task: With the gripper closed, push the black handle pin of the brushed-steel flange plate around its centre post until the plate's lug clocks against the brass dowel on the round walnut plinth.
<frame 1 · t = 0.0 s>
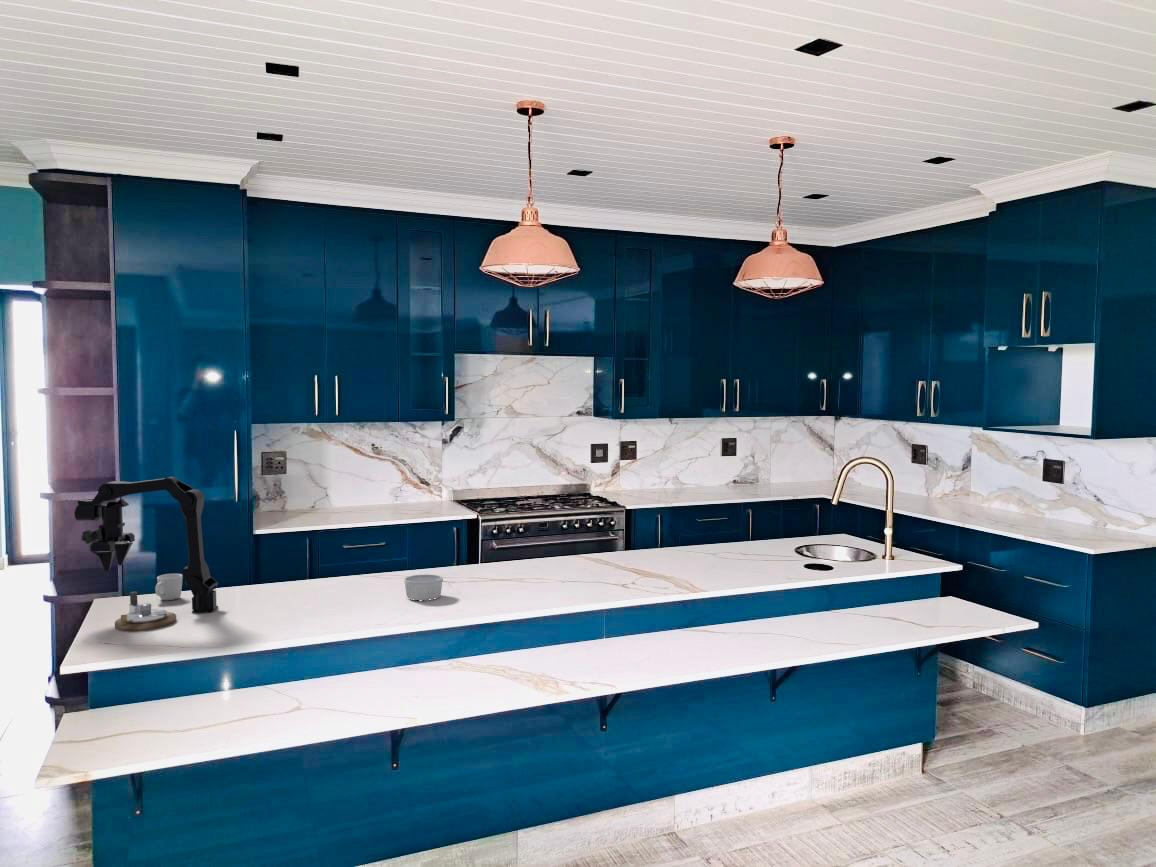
hand: (113, 568, 273), 15 cm above the countertop, fingers open, 9 cm apart
flange: (143, 606, 262), point 5 cm above the countertop, hinge at 0.0°
ramekin: (423, 598, 292), on the countertop
cup: (167, 600, 290), on the countertop
plinth: (146, 623, 261), on the countertop
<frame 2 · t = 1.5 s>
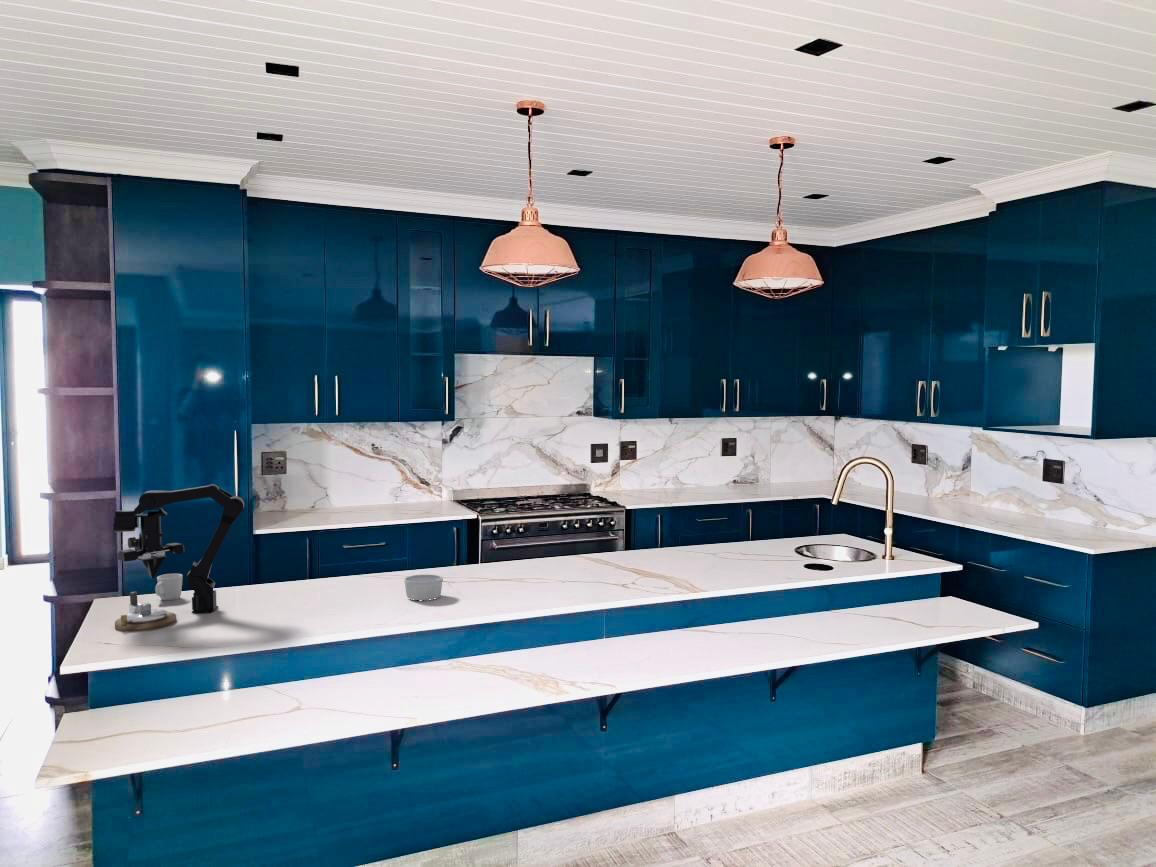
hand: (152, 578, 270), 12 cm above the countertop, fingers closed
nothing on the countertop moved.
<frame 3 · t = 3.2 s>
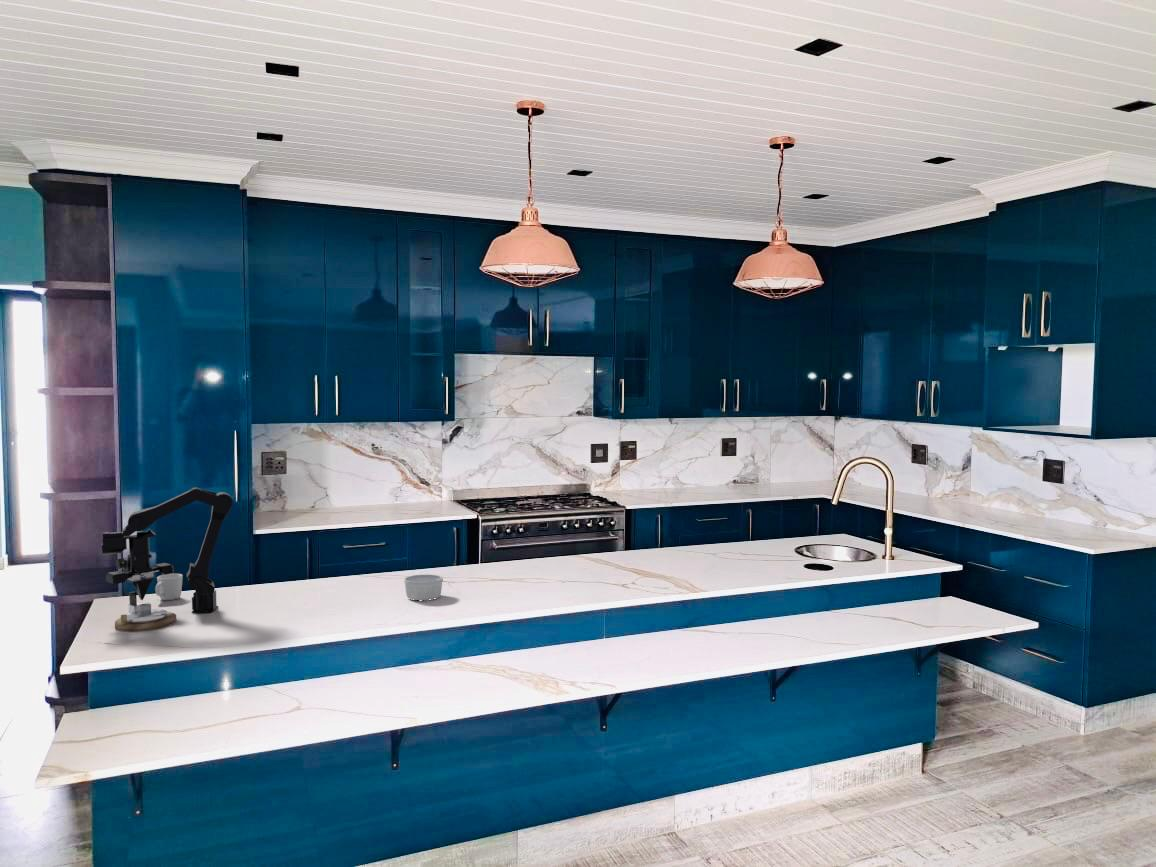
hand: (141, 599, 268), 6 cm above the countertop, fingers closed
flange: (142, 606, 262), point 5 cm above the countertop, hinge at 1.5°, touching gripper
everything else where it was.
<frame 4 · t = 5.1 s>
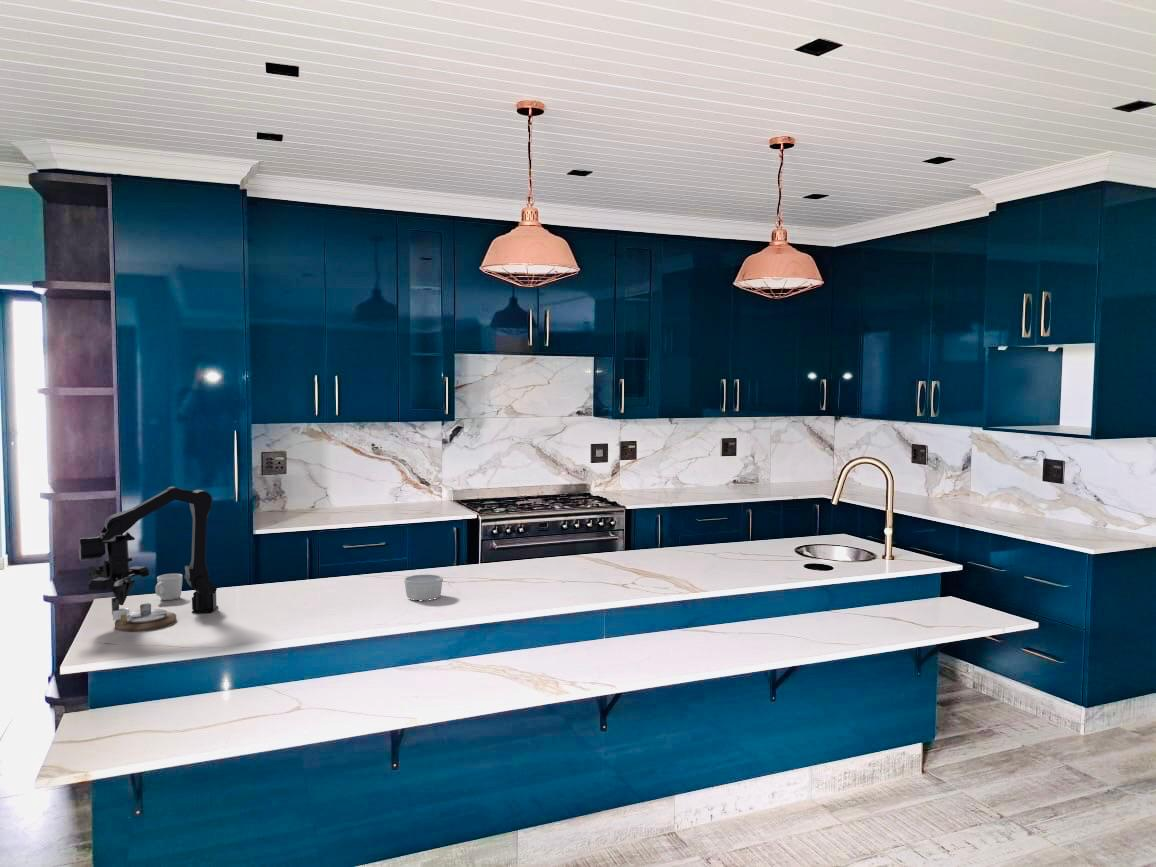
hand: (121, 605, 261), 6 cm above the countertop, fingers closed
flange: (139, 607, 260), point 5 cm above the countertop, hinge at 52.5°, touching gripper
everything else where it was.
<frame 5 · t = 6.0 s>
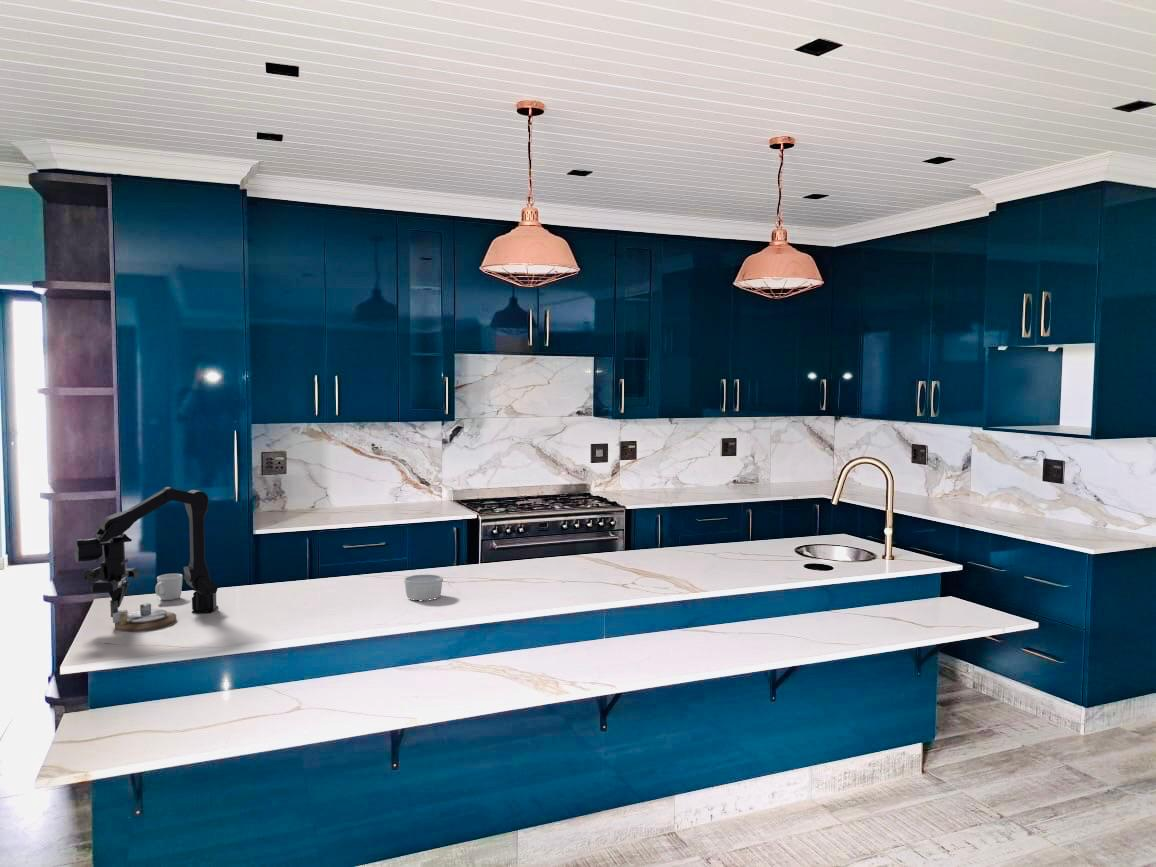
hand: (117, 607, 259), 6 cm above the countertop, fingers closed
flange: (139, 608, 260), point 5 cm above the countertop, hinge at 71.6°, touching gripper
everything else where it was.
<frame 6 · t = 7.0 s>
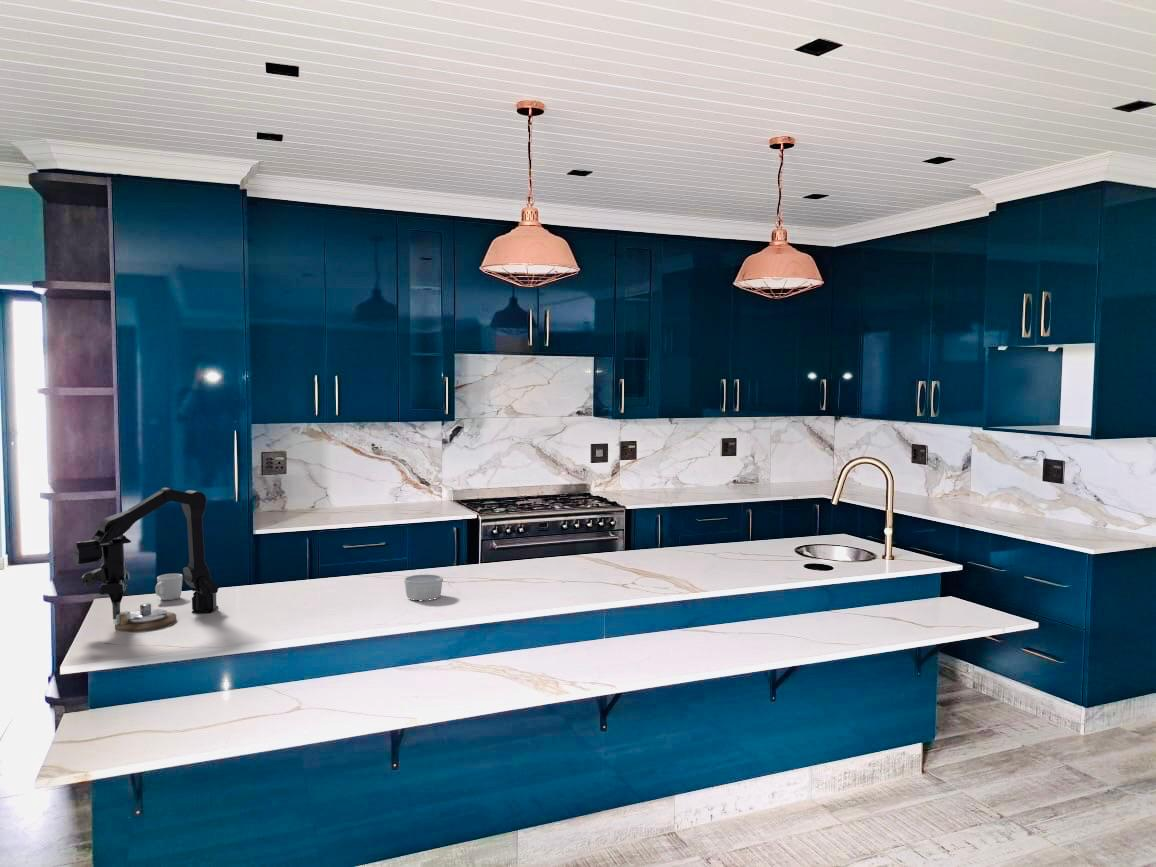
hand: (116, 609, 256), 6 cm above the countertop, fingers closed
flange: (139, 608, 259), point 5 cm above the countertop, hinge at 89.9°, touching gripper, plinth
everything else where it was.
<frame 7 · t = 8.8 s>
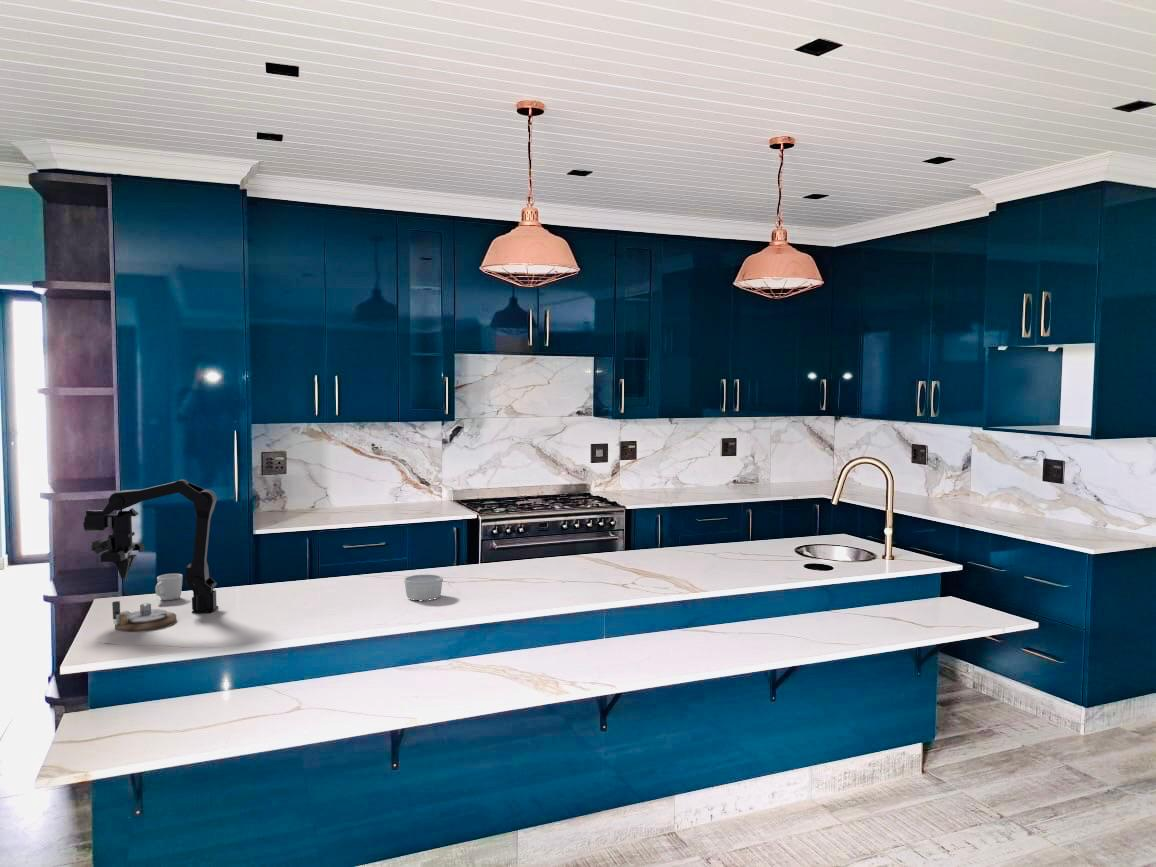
hand: (123, 578, 270), 12 cm above the countertop, fingers closed
flange: (139, 608, 259), point 5 cm above the countertop, hinge at 89.8°
everything else where it was.
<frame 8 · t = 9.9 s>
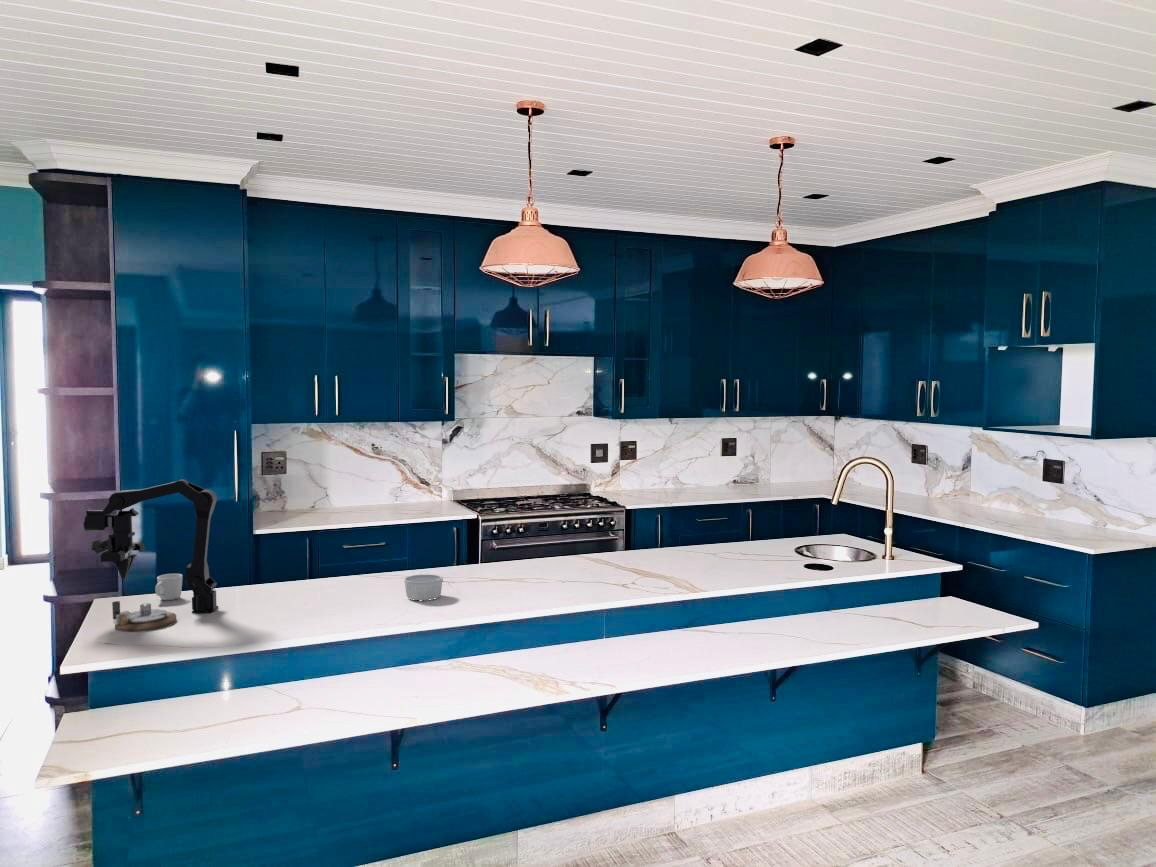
hand: (123, 578, 270), 12 cm above the countertop, fingers closed
nothing on the countertop moved.
at the end: flange at +90° (first picture: +0°); cup moved 0.2 cm from its start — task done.
